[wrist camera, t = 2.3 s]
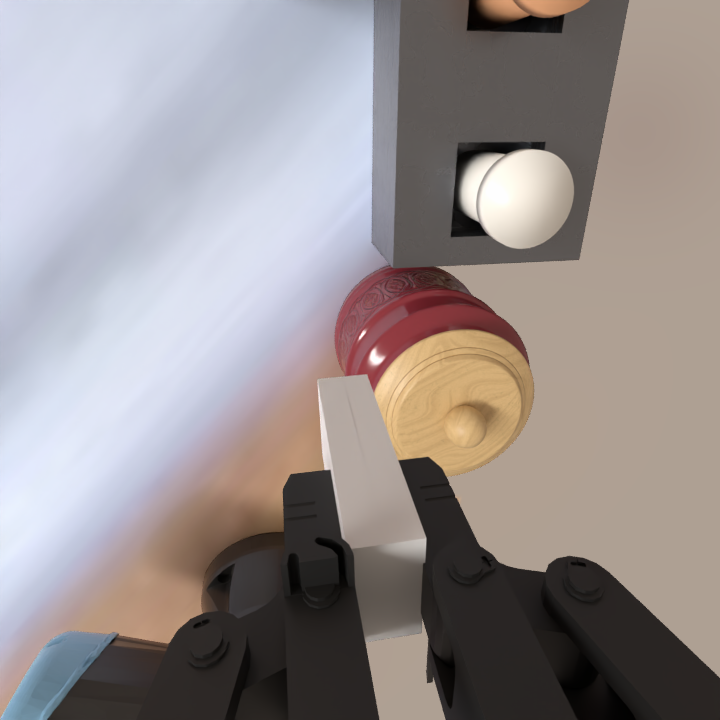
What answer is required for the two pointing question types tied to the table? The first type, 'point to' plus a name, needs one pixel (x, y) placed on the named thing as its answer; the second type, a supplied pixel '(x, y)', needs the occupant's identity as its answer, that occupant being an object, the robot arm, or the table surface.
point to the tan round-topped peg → (516, 10)
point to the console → (482, 119)
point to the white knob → (514, 194)
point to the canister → (436, 366)
